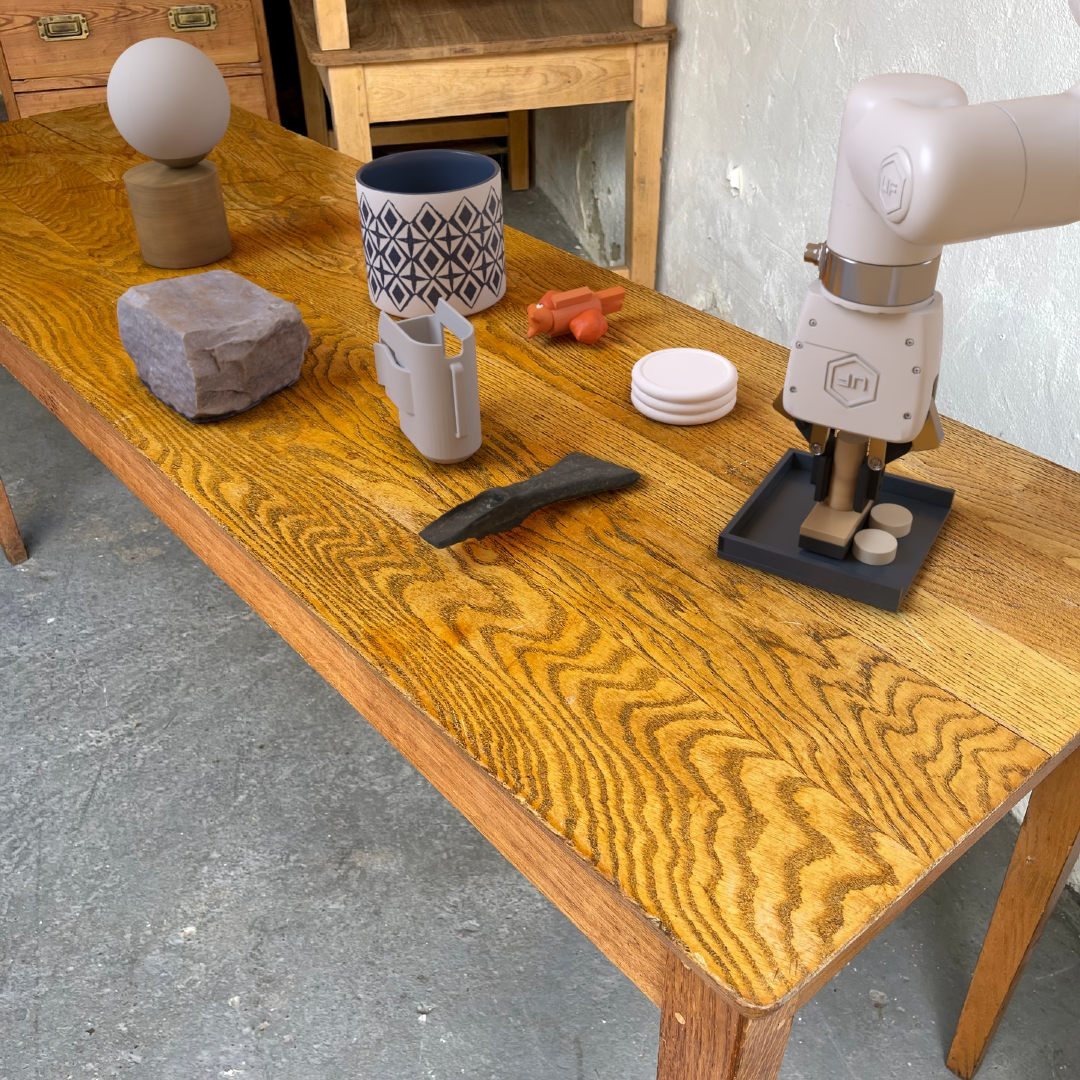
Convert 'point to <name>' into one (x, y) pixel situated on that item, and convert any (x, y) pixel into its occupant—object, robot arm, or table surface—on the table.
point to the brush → (838, 502)
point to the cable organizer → (432, 382)
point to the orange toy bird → (574, 313)
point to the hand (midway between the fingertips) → (843, 497)
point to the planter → (432, 231)
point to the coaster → (684, 386)
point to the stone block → (211, 342)
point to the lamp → (173, 150)
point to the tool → (526, 499)
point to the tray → (772, 546)
